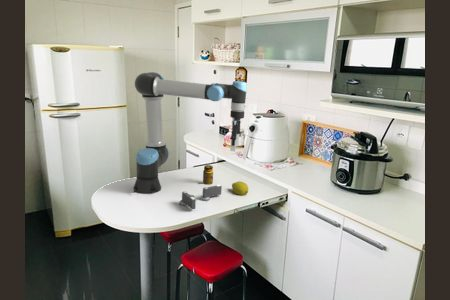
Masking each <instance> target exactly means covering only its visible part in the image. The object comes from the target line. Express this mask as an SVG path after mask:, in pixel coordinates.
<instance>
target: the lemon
mask: <svg viewBox="0 0 450 300" xmlns="http://www.w3.org/2000/svg"><path fill="white" fill-rule="evenodd" d="M231 188H232V191H233V193H234V194H236V195H238V196H246V195H248V192H249V186H248V184H246V183H245V182H244V181H240V180H239V181H236V182H235V181H234V182H232V184H231Z"/></svg>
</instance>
